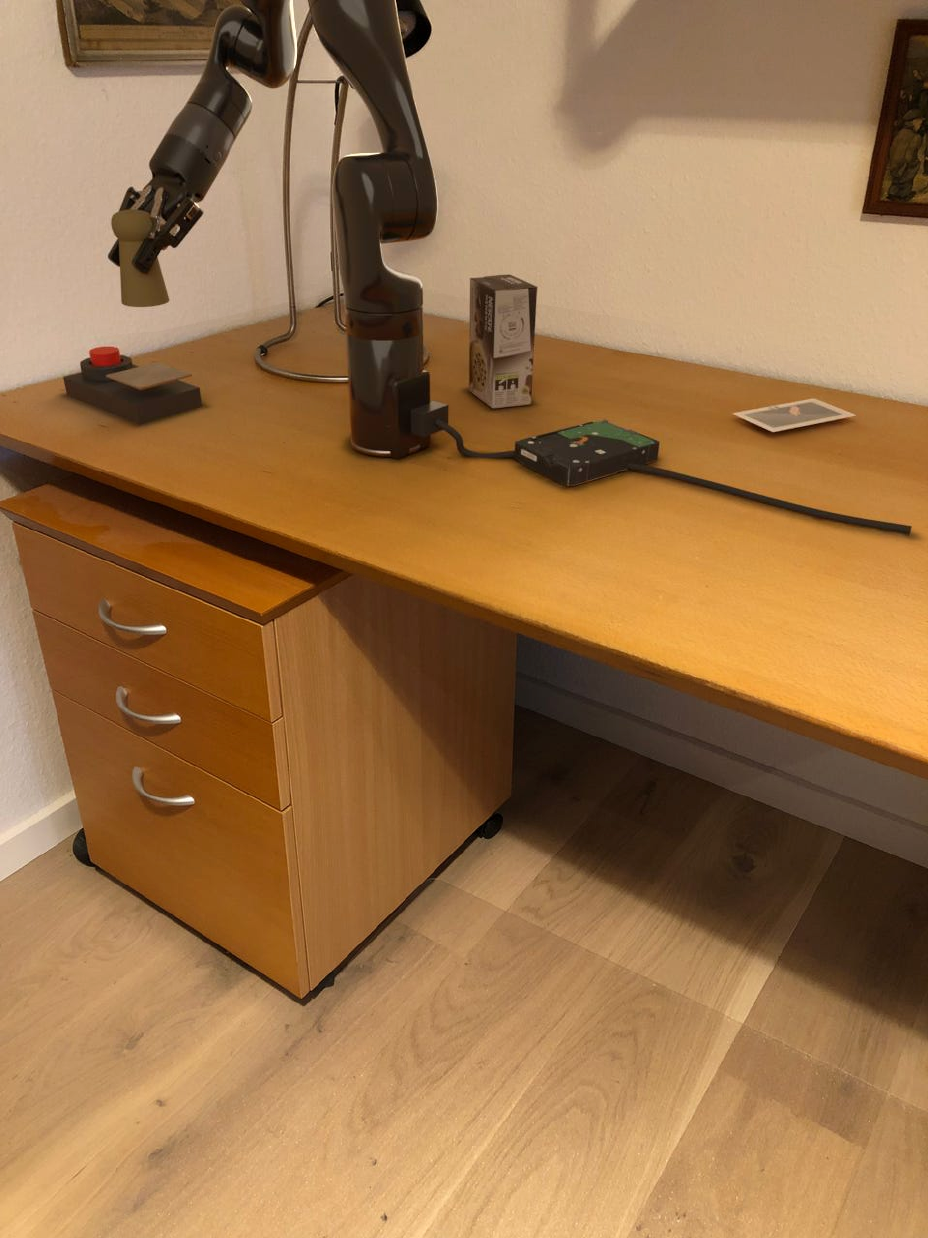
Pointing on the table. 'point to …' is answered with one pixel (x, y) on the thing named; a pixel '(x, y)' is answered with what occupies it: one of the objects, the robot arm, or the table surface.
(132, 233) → the olive pawn piece
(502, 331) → the coffee box
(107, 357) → the button
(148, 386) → the plate
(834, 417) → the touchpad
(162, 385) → the machine
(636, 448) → the disk drive
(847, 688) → the table surface
